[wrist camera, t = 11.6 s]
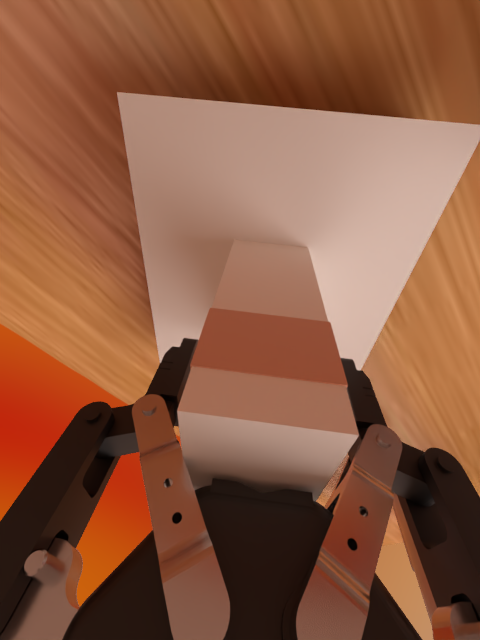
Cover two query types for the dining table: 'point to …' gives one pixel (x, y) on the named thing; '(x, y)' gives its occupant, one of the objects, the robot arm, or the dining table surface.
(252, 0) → the dining table surface
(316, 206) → the plate
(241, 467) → the cream carton
